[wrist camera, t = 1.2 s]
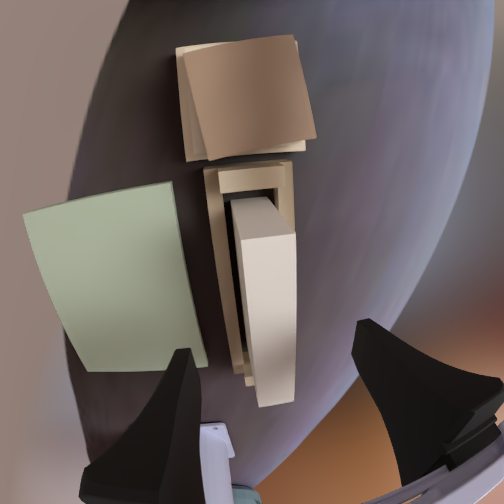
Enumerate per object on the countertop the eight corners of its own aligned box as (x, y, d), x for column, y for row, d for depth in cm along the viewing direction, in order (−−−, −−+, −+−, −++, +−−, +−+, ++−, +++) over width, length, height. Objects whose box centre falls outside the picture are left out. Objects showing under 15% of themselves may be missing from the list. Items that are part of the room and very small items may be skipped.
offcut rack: (222, 363, 20) (224, 394, 18) (178, 53, 12) (170, 36, 9) (301, 351, 21) (311, 380, 18) (291, 46, 12) (309, 30, 10)
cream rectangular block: (246, 340, 20) (258, 407, 14) (230, 199, 16) (240, 240, 10) (274, 335, 20) (293, 401, 15) (266, 195, 16) (295, 233, 10)
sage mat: (89, 366, 19) (87, 371, 19) (27, 211, 14) (22, 214, 13) (208, 360, 20) (208, 366, 20) (171, 180, 15) (170, 182, 14)
